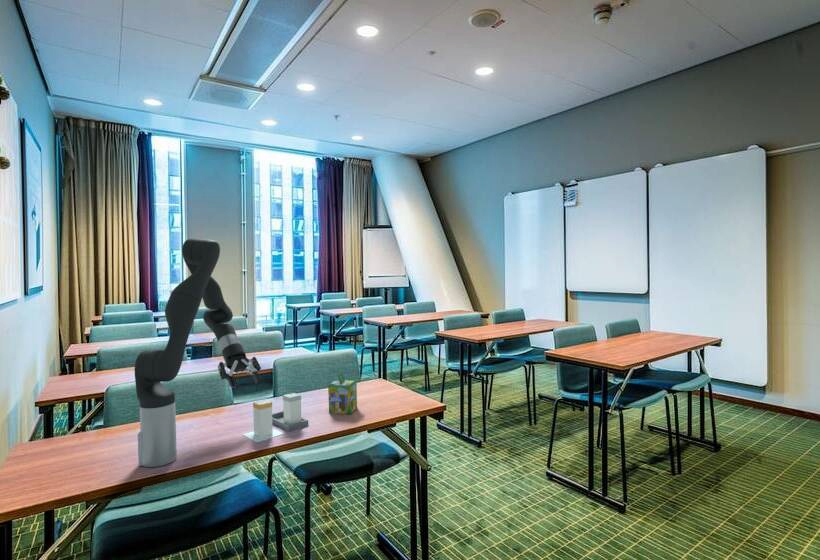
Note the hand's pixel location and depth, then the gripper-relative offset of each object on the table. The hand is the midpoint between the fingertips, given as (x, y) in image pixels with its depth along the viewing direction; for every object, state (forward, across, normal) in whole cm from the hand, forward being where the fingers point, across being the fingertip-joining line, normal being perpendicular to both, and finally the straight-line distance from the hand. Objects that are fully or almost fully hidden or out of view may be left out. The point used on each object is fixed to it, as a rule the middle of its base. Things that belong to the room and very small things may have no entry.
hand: (246, 384), depth 159 cm
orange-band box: (+19, 0, +2) cm, 19 cm away
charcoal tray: (+16, +12, +6) cm, 21 cm away
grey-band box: (+19, +12, +3) cm, 22 cm away
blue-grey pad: (+19, 0, +3) cm, 20 cm away
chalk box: (+19, +35, +3) cm, 40 cm away
